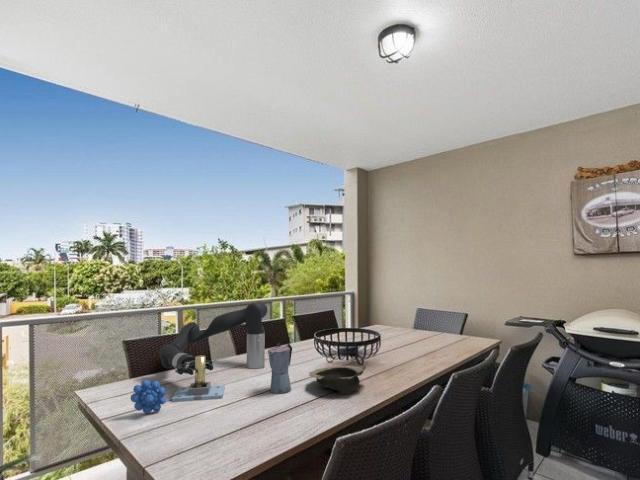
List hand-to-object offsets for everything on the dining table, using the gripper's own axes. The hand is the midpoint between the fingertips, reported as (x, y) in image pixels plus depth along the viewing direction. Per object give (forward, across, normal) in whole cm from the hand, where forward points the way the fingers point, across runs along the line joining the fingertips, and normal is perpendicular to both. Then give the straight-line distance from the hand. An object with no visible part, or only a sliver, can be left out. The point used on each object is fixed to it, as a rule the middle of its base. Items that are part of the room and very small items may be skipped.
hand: (202, 370), depth 143 cm
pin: (-2, 0, -9) cm, 9 cm away
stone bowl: (+33, -45, -11) cm, 57 cm away
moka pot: (+18, -26, -10) cm, 34 cm away
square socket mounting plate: (-2, 0, -10) cm, 10 cm away
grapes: (+3, +22, -10) cm, 25 cm away
